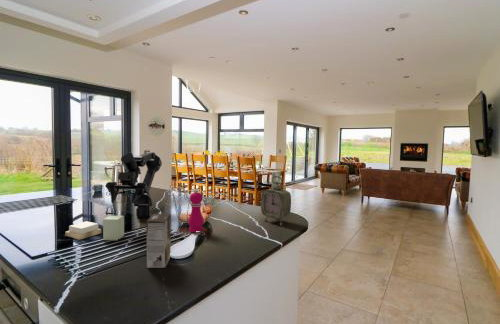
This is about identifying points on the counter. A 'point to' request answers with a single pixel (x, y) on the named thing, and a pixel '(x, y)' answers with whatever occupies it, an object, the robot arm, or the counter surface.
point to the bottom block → (82, 236)
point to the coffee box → (158, 240)
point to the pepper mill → (196, 212)
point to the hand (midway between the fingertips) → (122, 202)
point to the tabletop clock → (276, 202)
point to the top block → (83, 227)
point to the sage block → (113, 227)
